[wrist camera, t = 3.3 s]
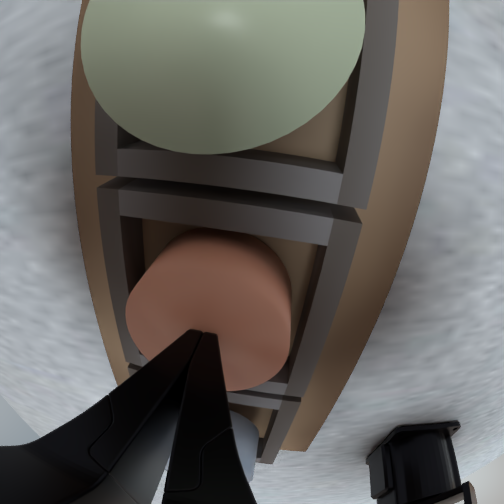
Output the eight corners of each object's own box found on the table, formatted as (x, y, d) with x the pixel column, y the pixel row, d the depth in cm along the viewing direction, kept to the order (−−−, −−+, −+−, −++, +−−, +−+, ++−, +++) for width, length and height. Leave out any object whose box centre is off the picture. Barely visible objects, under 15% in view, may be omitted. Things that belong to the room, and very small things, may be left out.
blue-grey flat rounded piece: (265, 413, 12) (259, 462, 10) (253, 454, 15) (247, 491, 12) (157, 391, 12) (139, 435, 10) (168, 436, 15) (156, 471, 13)
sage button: (348, -31, 4) (369, -77, 2) (327, 151, 7) (343, 174, 5) (152, -36, 5) (105, -69, 3) (133, 131, 7) (75, 149, 5)
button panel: (426, -9, 6) (468, -37, 3) (306, 427, 18) (304, 470, 15) (118, -31, 7) (69, -55, 4) (139, 395, 19) (122, 433, 16)
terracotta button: (304, 239, 9) (307, 284, 7) (279, 350, 12) (274, 400, 10) (151, 216, 10) (115, 252, 8) (159, 328, 12) (137, 372, 10)
